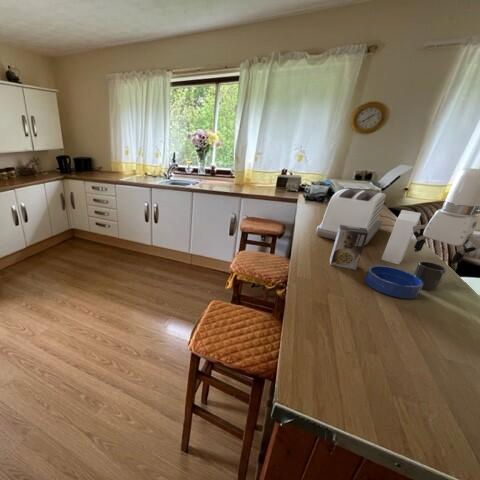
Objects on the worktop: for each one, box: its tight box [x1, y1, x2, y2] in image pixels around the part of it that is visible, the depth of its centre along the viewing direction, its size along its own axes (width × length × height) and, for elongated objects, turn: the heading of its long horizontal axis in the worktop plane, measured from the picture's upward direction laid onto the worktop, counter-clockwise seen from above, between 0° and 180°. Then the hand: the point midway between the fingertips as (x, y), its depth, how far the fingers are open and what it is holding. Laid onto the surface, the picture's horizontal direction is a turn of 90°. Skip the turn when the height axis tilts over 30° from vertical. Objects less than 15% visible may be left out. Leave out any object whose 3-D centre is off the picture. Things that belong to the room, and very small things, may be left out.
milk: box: [380, 209, 422, 265], centre depth 106 cm, size 6×6×22 cm
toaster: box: [315, 188, 387, 246], centre depth 139 cm, size 23×45×22 cm, turn 133°
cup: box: [412, 261, 447, 292], centre depth 91 cm, size 7×7×8 cm
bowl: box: [364, 265, 424, 300], centre depth 90 cm, size 15×15×5 cm
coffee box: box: [329, 225, 368, 271], centre depth 103 cm, size 9×6×16 cm
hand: (434, 256), depth 88 cm, fingers open, 9 cm apart
